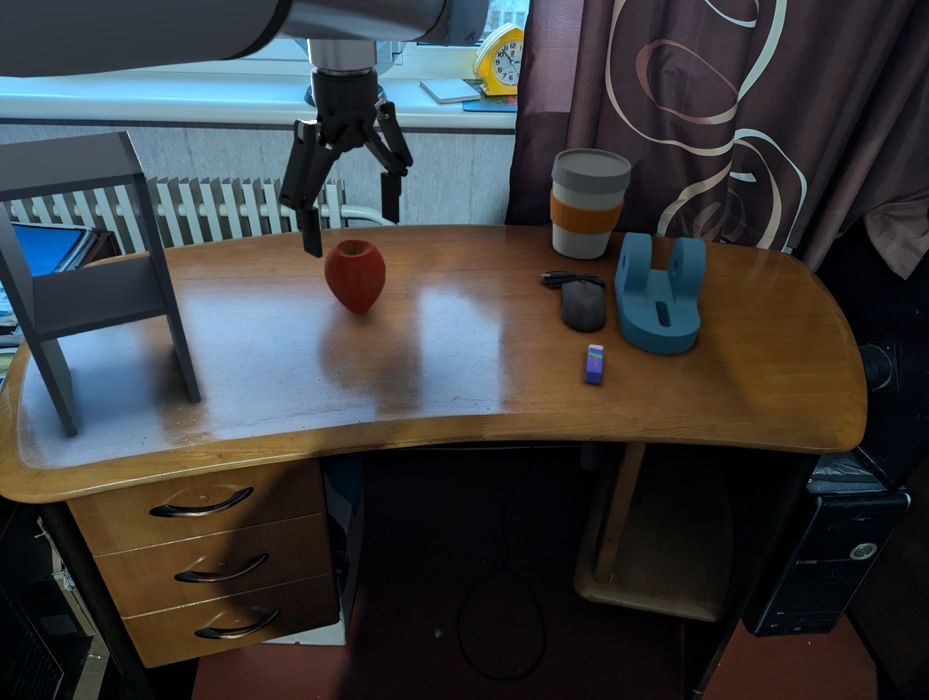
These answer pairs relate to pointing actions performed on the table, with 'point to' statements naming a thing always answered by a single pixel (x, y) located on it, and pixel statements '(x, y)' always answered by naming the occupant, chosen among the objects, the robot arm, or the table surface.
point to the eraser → (594, 364)
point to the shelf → (90, 288)
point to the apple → (355, 274)
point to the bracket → (659, 294)
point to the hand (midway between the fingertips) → (354, 236)
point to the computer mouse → (580, 298)
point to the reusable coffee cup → (586, 200)
